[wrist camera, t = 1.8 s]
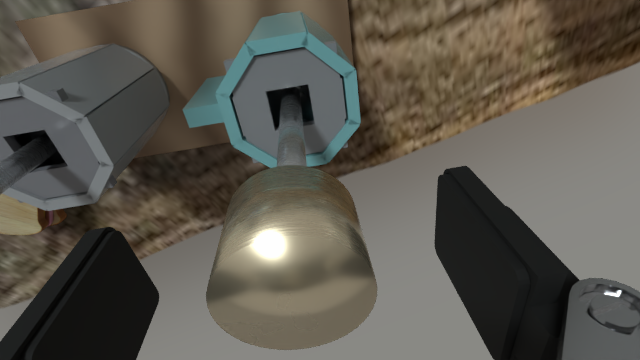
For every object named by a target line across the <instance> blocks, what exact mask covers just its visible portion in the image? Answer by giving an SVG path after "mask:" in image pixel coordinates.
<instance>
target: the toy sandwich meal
mask: <svg viewBox="0 0 640 360" xmlns="http://www.w3.org/2000/svg"><path fill="white" fill-rule="evenodd" d="M66 217H67V215H66V213H65V211H64V210H63V209H57V210H51V211H47V210H46V211H45V210H42V209H40V208H37V207H35V206H32V205H30V204H27V203H25V202H23V203H20V202H19V201H18V200H17V199H14V198H12V197H9V196H7V195H4V194H1V195H0V233H2V234H10V235H31V234H36V233H39V232H41V231H42V230H44V229H45V228H46V227H48V226H52V225H56V224H59V223H61V222H62V221H63V220H64V219H65V218H66Z"/></svg>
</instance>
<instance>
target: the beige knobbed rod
mask: <svg viewBox="0 0 640 360" xmlns="http://www.w3.org/2000/svg"><path fill="white" fill-rule="evenodd" d="M16 137H17V138H18V140H19V142H20V143H21V144H22V145H23V147H22V148H20V149H19V150H17V151H16V152H14V153H12V154H11V155H9V156H8V157H6V158H5V159H3V160H2V161H0V195H1V194H2V193H3V192H4V191H6V190H7V189H8V188H10V187H11V186H12V185H14V184H15V183H16V182H18V181H19V180H20V179H21V178H23V177H24V176H25V175H27V174H28V173H29V172H31V171H32V170H33V169H35V168H36V167H37V166H38V165H40V164H41V163H42V162H43V163H45V164H47V165H49V166H50V165H56V164H62V163H66V162H65V161H64V159H63V157H62V156H61V154H60V153H59V151H58V150H57V148H56V147H55V145H54V144H53V142H52V141H51V139H50V137H49V136H48V134H47V133H46V131H45V130H40V131H34V132H28V133H22V134H17V135H16Z"/></svg>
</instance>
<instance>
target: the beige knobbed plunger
mask: <svg viewBox="0 0 640 360" xmlns="http://www.w3.org/2000/svg"><path fill="white" fill-rule="evenodd" d="M267 94H268V98H269V102H270V106H271V110H272V115H273V119H274V123H275V127H278V126H279V139H278V155H277V167H273V168H269V169H267V170H264V171H261V172H259V173H257V174H255V175H253V176H252V177H250V178H249V179H247V180H246V181H245V182H244V183H243V184H242V185H240V187H239V188H238V189H237V190H236V191H235V193H234V195H233V196H232V198H231V201H230V203H229V206H228V210H227V214H226V218H225V222H224V225H223V229H222V234H221V237H220V241H219V245H218V248H217V252H216V256H215V260H214V264H213V268H212V272H211V275H210V280H209V283H208V287H207V292H206V301H207V306H208V309H209V312H210V314H211V316H212V317H213V319H214V320H215V322H216V323H217V324H218V325H219V326H220V327H221V328H222V329H223V330H224V331H226V332H227V333H229V334H230V335H231V336H233V337H235V338H237V339H239V340H241V341H243V342H246V343H249V344H251V345H255V346H258V347H263V348H269V349H278V350H294V349H304V348H311V347H316V346H320V345H323V344H327V343H329V342H332V341H335V340H337V339H339V338H341V337H343V336H345V335H347V334H348V333H350V332H351V331H353V330H354V329H356V328H357V327H358V326H359V325H360V324H361V323H362V322H363V321H364V320H365V319H366V318H367V317H368V315H369V314H370V312H371V311H372V309H373V307H374V304H375V302H376V297H377V284H376V279H375V275H374V272H373V268H372V265H371V261H370V258H369V254H368V251H367V247H366V243H365V240H364V236H363V233H362V229H361V226H360V222H359V219H358V215H357V212H356V208H355V205H354V202H353V199H352V197H351V195H350V193H349V192H348V190H347V189H346V188H345V186H344V185H343V184H342V183H341V182H339V181H338V180H337V179H336V178H334V177H333V176H332V175H330V174H328V173H326V172H324V171H321V170H319V169H316V168H312V167H308V166H307V163H306V152H305V141H304V130H303V122H307V121H313V120H314V116H313V110H312V104H311V98H310V92H309V87H308V84H306V85H301V86H295V87H289V88H283V89H277V90H272V91H267Z"/></svg>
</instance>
